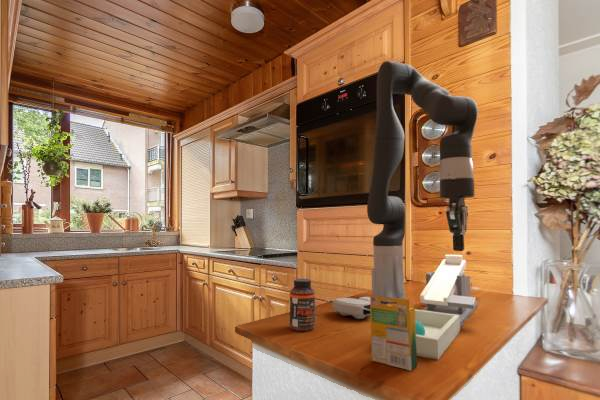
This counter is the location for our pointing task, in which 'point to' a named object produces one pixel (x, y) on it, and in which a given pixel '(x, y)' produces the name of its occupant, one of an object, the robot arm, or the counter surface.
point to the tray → (436, 332)
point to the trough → (447, 285)
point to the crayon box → (393, 333)
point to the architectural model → (467, 287)
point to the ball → (419, 328)
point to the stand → (462, 312)
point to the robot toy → (353, 306)
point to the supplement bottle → (302, 306)
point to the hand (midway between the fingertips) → (458, 250)
